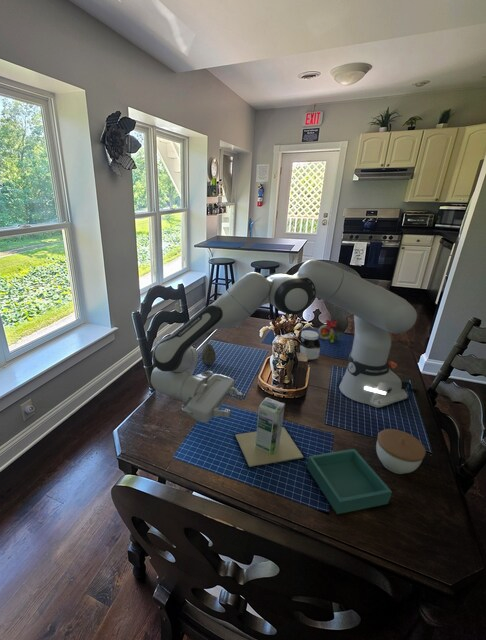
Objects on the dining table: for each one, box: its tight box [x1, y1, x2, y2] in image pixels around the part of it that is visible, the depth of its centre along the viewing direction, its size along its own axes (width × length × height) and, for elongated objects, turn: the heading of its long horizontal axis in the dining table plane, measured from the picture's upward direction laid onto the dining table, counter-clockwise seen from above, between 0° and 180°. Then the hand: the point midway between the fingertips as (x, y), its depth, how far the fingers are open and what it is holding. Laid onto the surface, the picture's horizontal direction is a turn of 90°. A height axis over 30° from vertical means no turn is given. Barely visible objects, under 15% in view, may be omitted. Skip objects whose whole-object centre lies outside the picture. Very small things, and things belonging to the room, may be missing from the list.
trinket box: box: [375, 428, 427, 475], centre depth 86 cm, size 11×11×9 cm
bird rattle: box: [318, 319, 340, 344], centre depth 154 cm, size 6×11×9 cm
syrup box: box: [255, 397, 286, 455], centre depth 91 cm, size 6×6×14 cm
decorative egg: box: [200, 343, 216, 367], centre depth 135 cm, size 6×6×10 cm
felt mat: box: [235, 426, 304, 468], centre depth 94 cm, size 16×12×1 cm
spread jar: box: [300, 329, 321, 362], centre depth 139 cm, size 12×11×12 cm
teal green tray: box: [306, 448, 393, 515], centre depth 81 cm, size 14×14×4 cm
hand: (236, 405), depth 95 cm, fingers open, 8 cm apart
